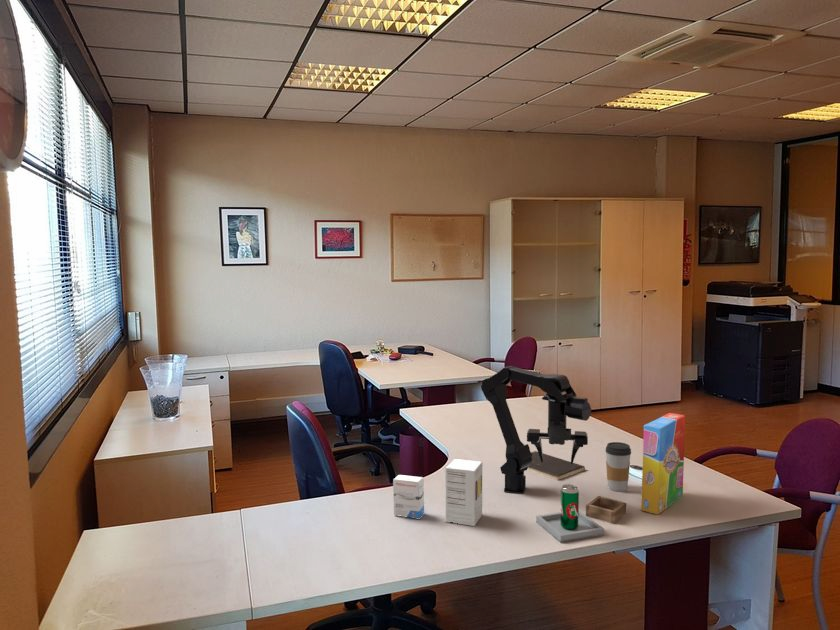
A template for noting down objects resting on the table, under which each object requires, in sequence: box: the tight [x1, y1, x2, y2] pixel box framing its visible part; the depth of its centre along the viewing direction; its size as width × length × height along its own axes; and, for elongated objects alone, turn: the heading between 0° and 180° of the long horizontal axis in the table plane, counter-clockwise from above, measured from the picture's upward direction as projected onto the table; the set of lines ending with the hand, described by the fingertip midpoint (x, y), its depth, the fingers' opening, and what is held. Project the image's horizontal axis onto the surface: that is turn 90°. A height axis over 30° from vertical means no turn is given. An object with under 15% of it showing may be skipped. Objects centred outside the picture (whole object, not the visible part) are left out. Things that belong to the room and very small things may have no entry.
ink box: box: [392, 474, 425, 519], centre depth 194 cm, size 8×5×12 cm, turn 71°
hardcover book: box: [527, 450, 586, 481], centre depth 236 cm, size 16×23×2 cm
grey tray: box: [535, 510, 605, 544], centre depth 183 cm, size 14×14×2 cm
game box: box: [640, 412, 686, 515], centre depth 200 cm, size 21×6×27 cm, turn 137°
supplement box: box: [444, 458, 483, 527], centre depth 191 cm, size 10×9×17 cm
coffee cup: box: [605, 441, 632, 493], centre depth 213 cm, size 8×8×15 cm
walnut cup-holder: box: [585, 495, 628, 525], centre depth 193 cm, size 9×9×4 cm
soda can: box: [560, 483, 580, 530], centre depth 183 cm, size 5×5×12 cm
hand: (556, 462), depth 202 cm, fingers open, 9 cm apart
